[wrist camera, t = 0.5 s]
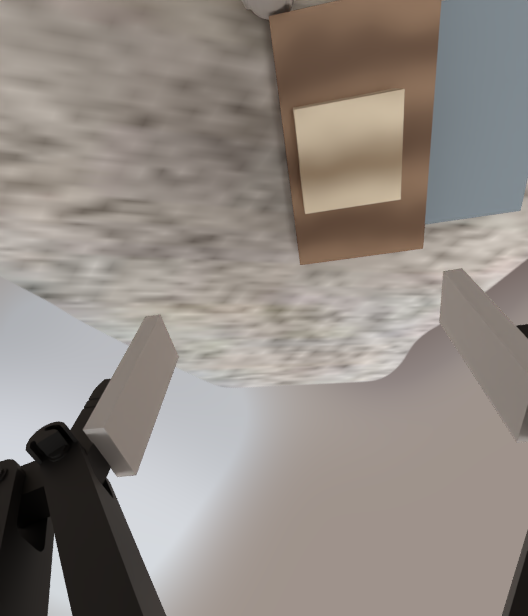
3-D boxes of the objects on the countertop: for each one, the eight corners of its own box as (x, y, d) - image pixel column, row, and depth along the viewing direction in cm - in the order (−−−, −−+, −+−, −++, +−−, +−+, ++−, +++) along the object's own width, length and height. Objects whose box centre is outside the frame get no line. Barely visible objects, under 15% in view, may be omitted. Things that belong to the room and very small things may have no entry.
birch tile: (292, 107, 29) (293, 110, 27) (395, 88, 28) (404, 88, 26) (303, 205, 33) (305, 214, 31) (392, 191, 32) (400, 199, 30)
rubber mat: (429, 4, 28) (431, 3, 28) (567, -26, 27) (572, -28, 26) (415, 223, 37) (417, 225, 37) (517, 209, 36) (520, 210, 36)
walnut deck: (270, 23, 29) (268, 16, 26) (423, -11, 27) (443, -23, 24) (298, 249, 40) (300, 265, 36) (410, 233, 38) (422, 248, 35)
